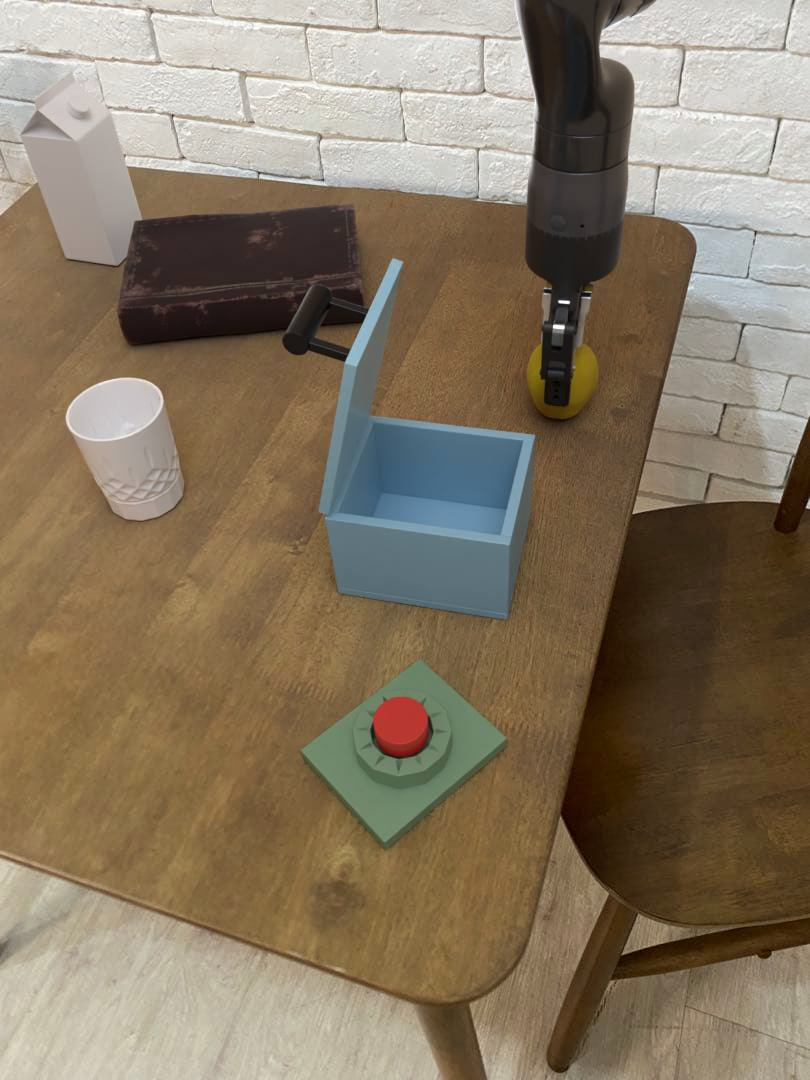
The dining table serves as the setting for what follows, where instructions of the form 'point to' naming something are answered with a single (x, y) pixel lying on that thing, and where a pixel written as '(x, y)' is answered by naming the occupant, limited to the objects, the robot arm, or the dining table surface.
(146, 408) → the white cup
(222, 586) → the dining table surface
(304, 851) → the dining table surface
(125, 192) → the milk carton
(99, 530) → the dining table surface
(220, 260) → the diary
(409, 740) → the button
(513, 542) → the box
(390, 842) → the green button base
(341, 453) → the lid
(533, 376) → the apple
